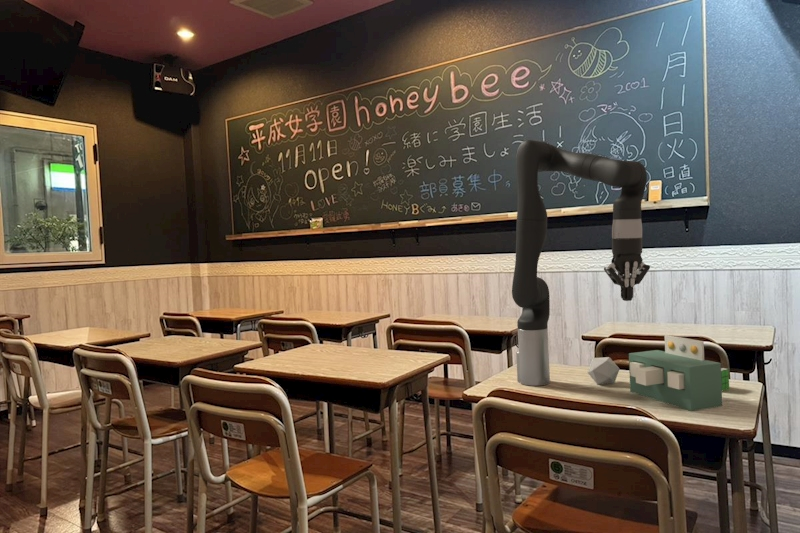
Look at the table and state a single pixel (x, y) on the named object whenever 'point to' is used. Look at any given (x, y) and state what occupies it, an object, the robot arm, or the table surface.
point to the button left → (634, 365)
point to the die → (603, 370)
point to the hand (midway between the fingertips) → (626, 300)
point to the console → (698, 374)
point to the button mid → (649, 375)
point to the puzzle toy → (725, 378)
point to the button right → (676, 379)
